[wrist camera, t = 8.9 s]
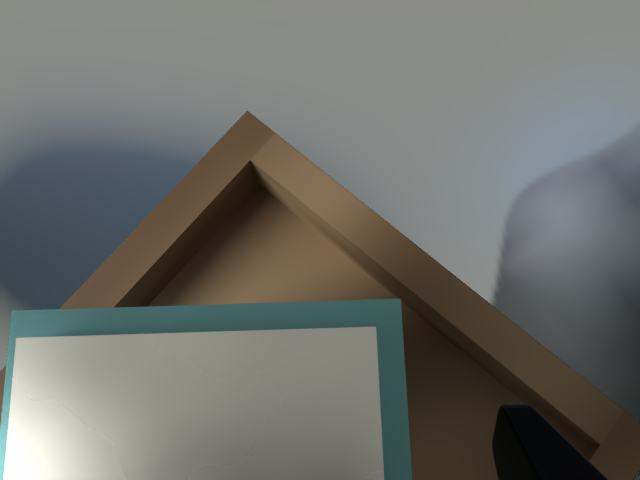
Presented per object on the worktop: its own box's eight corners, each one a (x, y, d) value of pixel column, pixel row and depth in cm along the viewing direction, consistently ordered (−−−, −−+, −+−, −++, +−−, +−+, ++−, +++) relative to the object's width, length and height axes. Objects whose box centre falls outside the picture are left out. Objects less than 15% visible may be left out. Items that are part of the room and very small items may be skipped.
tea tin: (362, 517, 15) (440, 795, 5) (189, 523, 15) (-68, 813, 5) (354, 342, 16) (406, 292, 6) (193, 347, 16) (-14, 306, 6)
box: (599, 427, 16) (660, 439, 13) (303, 850, 14) (298, 977, 11) (259, 152, 18) (247, 110, 15) (-48, 484, 16) (-132, 509, 13)
